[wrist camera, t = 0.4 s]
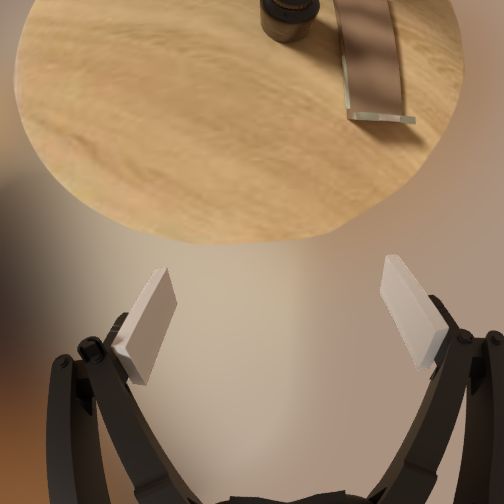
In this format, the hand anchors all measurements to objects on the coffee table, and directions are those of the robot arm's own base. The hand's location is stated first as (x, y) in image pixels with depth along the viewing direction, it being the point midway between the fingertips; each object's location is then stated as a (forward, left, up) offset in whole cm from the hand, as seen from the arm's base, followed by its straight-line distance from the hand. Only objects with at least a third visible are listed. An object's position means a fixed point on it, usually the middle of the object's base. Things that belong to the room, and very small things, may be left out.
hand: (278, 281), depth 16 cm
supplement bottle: (-24, +4, -26) cm, 36 cm away
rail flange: (-20, +16, -26) cm, 36 cm away
